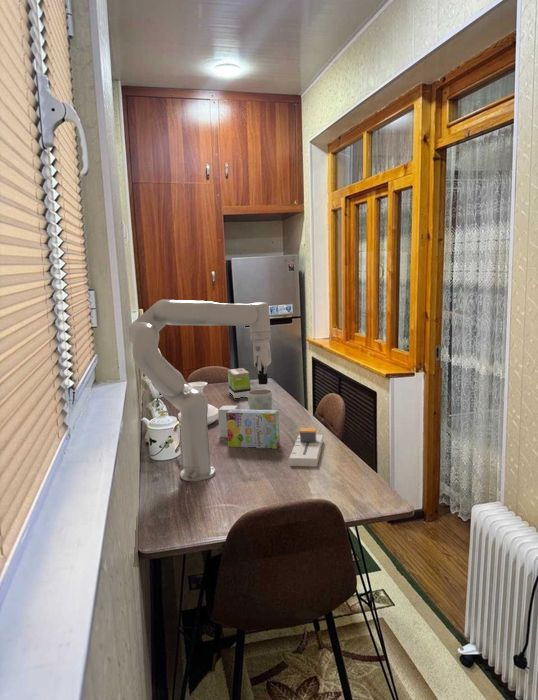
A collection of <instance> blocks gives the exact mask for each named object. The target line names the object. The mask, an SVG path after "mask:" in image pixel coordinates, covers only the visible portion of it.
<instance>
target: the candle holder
mask: <svg viewBox="0 0 538 700" xmlns="http://www.w3.org/2000/svg"><path fill="white" fill-rule="evenodd" d="M187 383H188V384H189V385H190V386H191V387H193V388H195V389H197V390H199V391H201V392H202V393H203V394H204V387H206V386H207V385H208V382H206V381H193V382H187ZM218 410H219V408H217V407H215V405H212V404H209V403H208V413H207V425H211V424H212V423H214V422H215V421H216V420H217V419H219V416H218ZM177 417H178V421H179V422H180V423H181V411H179V413H178V414H177Z"/></svg>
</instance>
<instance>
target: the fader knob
mask: <svg viewBox="0 0 538 700" xmlns="http://www.w3.org/2000/svg"><path fill="white" fill-rule="evenodd" d="M299 434H300V442H316V435H317V427H300V430H299Z"/></svg>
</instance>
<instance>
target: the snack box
mask: <svg viewBox="0 0 538 700" xmlns="http://www.w3.org/2000/svg"><path fill="white" fill-rule="evenodd" d="M226 418H227V433H228V437H227V443H228V444H227V446H228V448H230V447H231V448H248V447H256V448H255V449H270V448H272V450H274V449H276V450H277V449H278V448H279V446H280V445H281V442H280V439H281V438H280V420H279V410H278V409H272V410H250V409H247V408H245V409H239V408H238V409H230V410H229V411H228V412H226Z"/></svg>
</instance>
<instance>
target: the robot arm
mask: <svg viewBox="0 0 538 700" xmlns="http://www.w3.org/2000/svg"><path fill="white" fill-rule="evenodd" d="M166 325H169V326H208V327H209V326H211V327H212V326H228V327H229V326H230V327H233V326H235V327H237V326H241V327H242V326H243V327H245V326H247V327H248V326H249V335H250V336H249V337H250V341H251V342H252V345H253V346H252V347H253V348H252V352H253V353H252V354H253V364H254V367H255V368H257V377H258V379H257V381H258V385H267V384H268V383H269V381H268V379H269V378H268V366H270V365H271V363H272V353H271V343H270V340H272V339H271V320H270V305H269V304H268V302H264V301H263V302H262V301H261V302H252V303H223V302H221V303H220V302H214V301H209V300H207V301H205V300H183V299H182V300H181V299H179V300H176V299H160V300H157V301H156V302H155V303H153V304H152V306H150V307H149V308H148V309H147V310H146V311H145V312H143V313H142V314H141V315H140V316H138V317H137V318H136V319H135V320H134V321H133V322H132V323H131V324H130V326H129V327H128V329H129V338H128V340H129V341H130V343H131V344H132V358H133V361H134V364H135V365H136V367H137V368H138V369H139V370H140V371H141V372H142V373H143V375H145V377H147V378H148V379H149V380H150V383H151V385H152V387H153V388H154V389H155V391H157V392H158V393H159V394H160V395H161V396H162V397H164V398H165V399H166V401H167V402H169V404H171V405H172V406H174V408H175V409H177V410H178V411H179V412H181V422H180V427H179V428H180V436H181V437H180V439H181V449H182V460H183V469H182V470H181V471H180V473H179V476H180V479H182V480H183V481H185V482H186V481H187V482H201V480H202V481H206V480H208V479H211V478H212V477H213V475H214V476H215V474H216V468H215V467H214V466H212V465H211V453H210V440H209V438H210V437H209V430H208V428H209V427H208V425H209V424H208V425H207V413H208V404H209V402H208V399H207V397H206V395H205V394H204V392H203V393H202V392H201V391H199V390H197V389H195V388H193V387H191V386H190V385H189V384H188V383H189V382H187V381H186V380H185V377H184V376H183V374H182V373H181V372H180V370H178V369H176V368H175V367H174V366H173V365H172V364H171V363H170V362H168V360H167V359H166V358H165V357H164V356H163V354H161V352H160V350H159V341H160V331H162V329H163V328H165V326H166ZM210 477H211V478H210ZM205 479H206V480H205Z"/></svg>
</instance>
